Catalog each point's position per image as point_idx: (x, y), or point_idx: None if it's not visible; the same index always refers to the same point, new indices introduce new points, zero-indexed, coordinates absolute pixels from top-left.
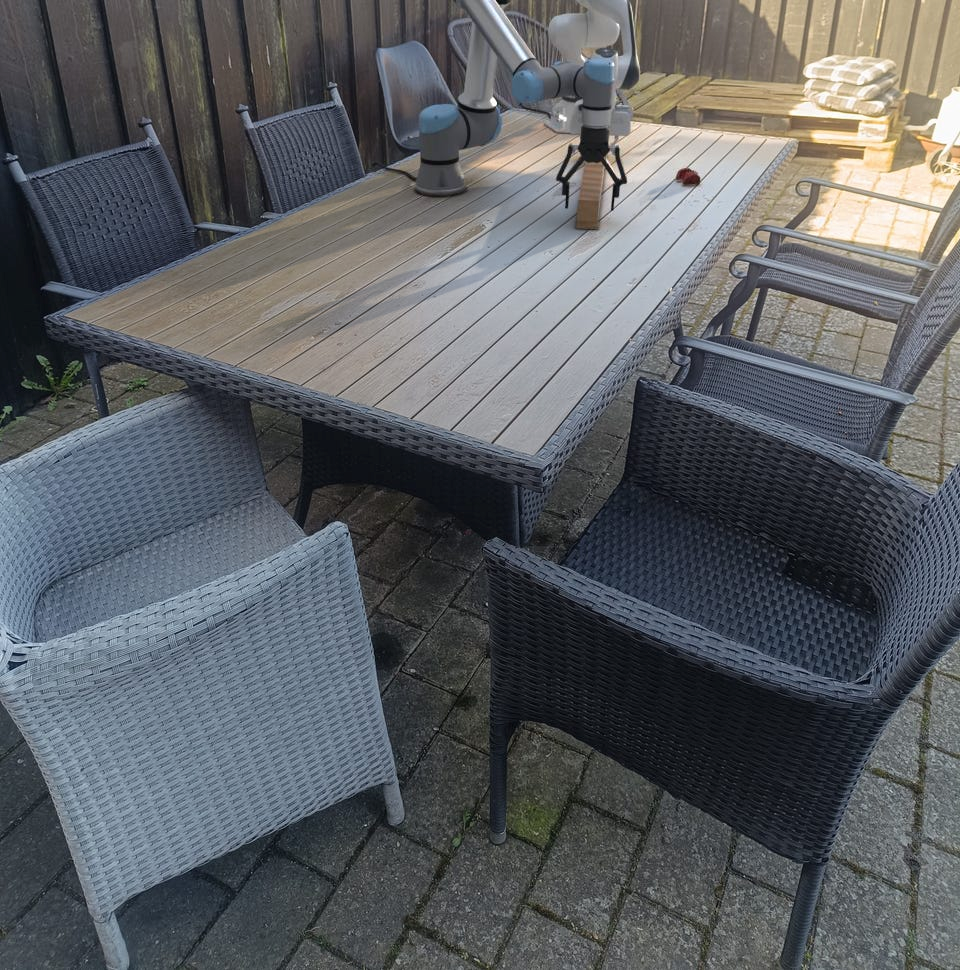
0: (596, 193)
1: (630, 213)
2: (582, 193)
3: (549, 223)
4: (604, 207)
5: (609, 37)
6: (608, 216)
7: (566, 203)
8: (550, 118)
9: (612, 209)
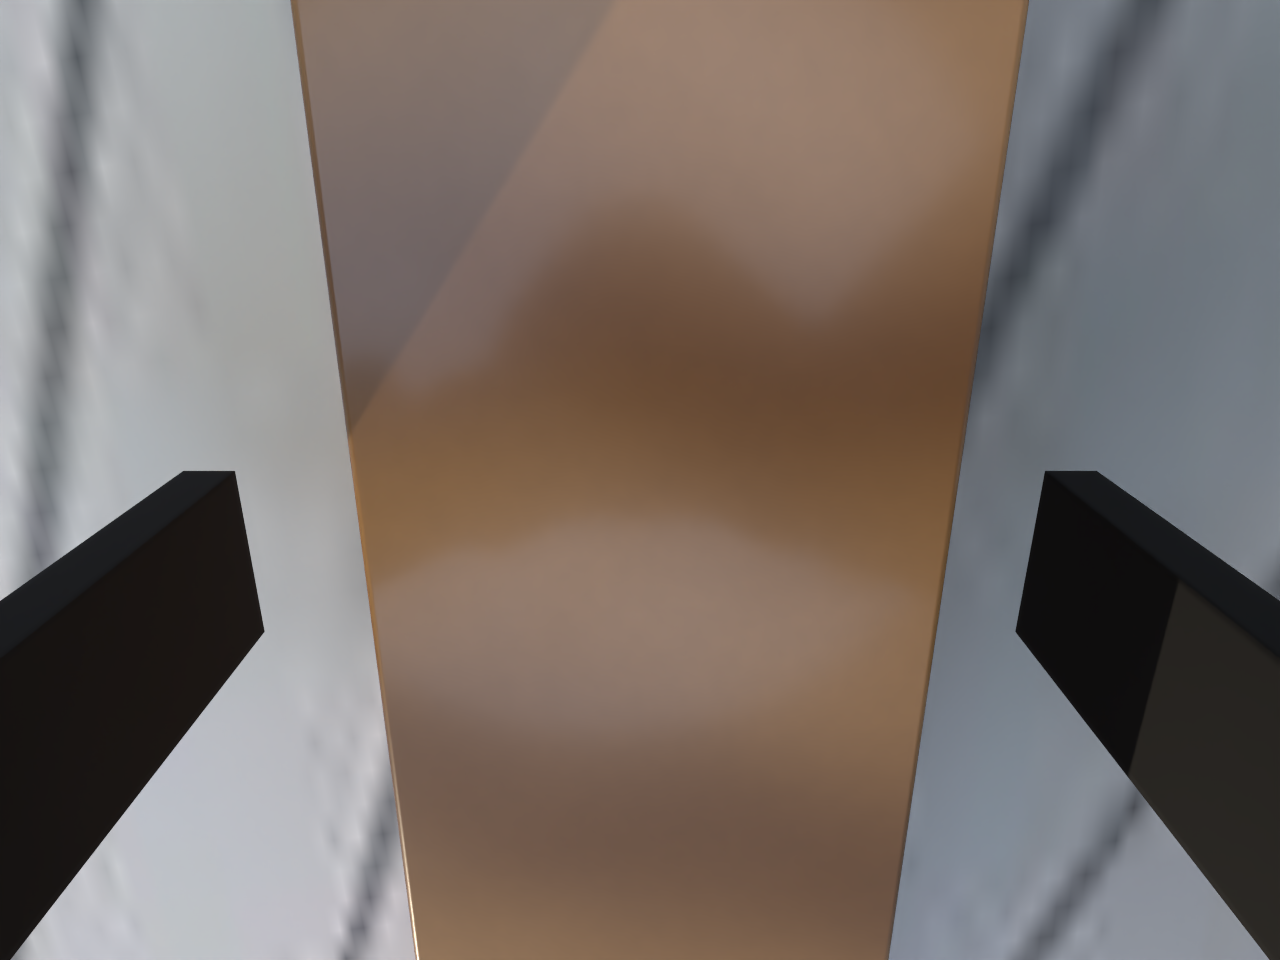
0: (473, 655)
1: None
2: (859, 611)
3: (1253, 253)
4: None
5: None
6: None
7: (1125, 509)
8: None
9: (191, 478)
